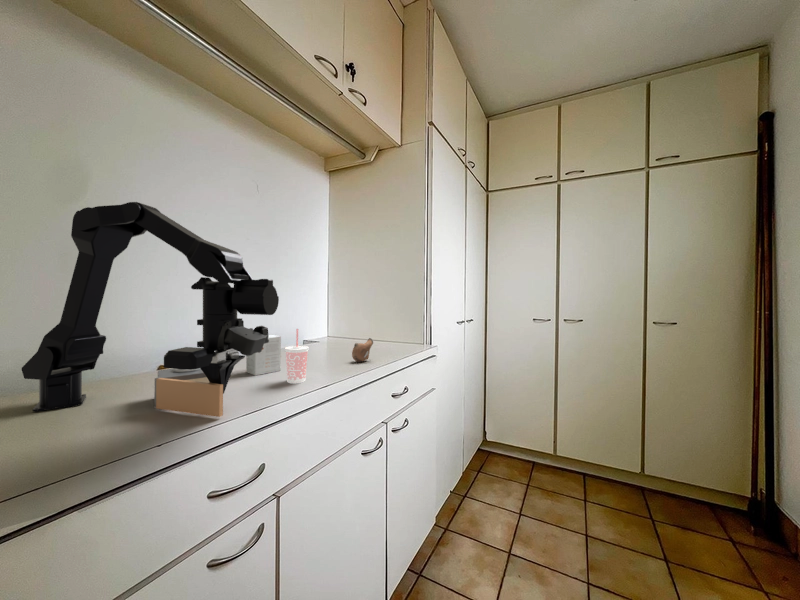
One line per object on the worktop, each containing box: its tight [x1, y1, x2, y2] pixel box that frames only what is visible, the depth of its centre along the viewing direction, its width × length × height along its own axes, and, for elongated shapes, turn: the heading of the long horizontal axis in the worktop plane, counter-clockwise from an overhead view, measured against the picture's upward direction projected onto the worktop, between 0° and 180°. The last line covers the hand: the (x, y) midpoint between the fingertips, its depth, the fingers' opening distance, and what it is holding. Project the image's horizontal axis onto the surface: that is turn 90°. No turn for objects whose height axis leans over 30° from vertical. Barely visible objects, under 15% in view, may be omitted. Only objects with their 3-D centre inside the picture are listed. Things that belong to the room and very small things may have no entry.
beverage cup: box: [284, 328, 309, 385], centre depth 81 cm, size 6×6×14 cm
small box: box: [245, 334, 282, 376], centre depth 90 cm, size 8×6×10 cm
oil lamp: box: [351, 337, 374, 363], centre depth 107 cm, size 9×4×8 cm, turn 135°
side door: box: [153, 377, 224, 418], centre depth 58 cm, size 1×15×6 cm, turn 77°
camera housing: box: [157, 368, 210, 383], centre depth 67 cm, size 8×10×7 cm
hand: (220, 394), depth 59 cm, fingers closed
